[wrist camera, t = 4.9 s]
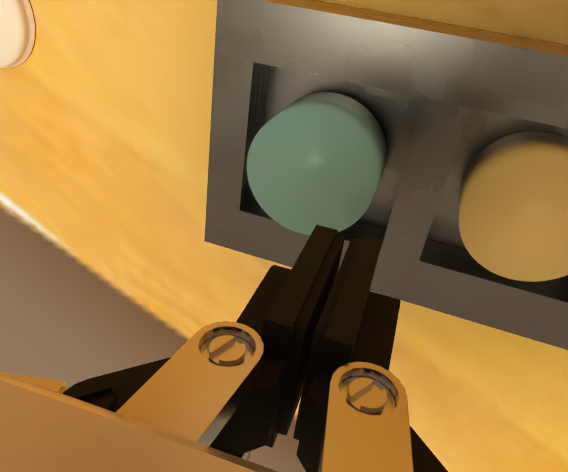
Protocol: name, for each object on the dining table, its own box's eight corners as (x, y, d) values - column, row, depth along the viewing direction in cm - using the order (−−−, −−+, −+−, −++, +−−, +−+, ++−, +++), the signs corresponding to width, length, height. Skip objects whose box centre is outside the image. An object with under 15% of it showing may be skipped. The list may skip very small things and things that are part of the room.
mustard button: (622, 148, 16) (645, 175, 14) (564, 259, 19) (577, 297, 17) (483, 118, 17) (485, 139, 15) (444, 228, 20) (442, 260, 18)
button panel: (1024, 126, 14) (1144, 161, 12) (791, 371, 19) (839, 431, 17) (250, -11, 19) (217, -8, 16) (231, 212, 24) (204, 240, 22)
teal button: (400, 106, 17) (390, 127, 15) (371, 219, 20) (359, 250, 18) (278, 80, 18) (253, 95, 16) (265, 190, 21) (241, 216, 18)
